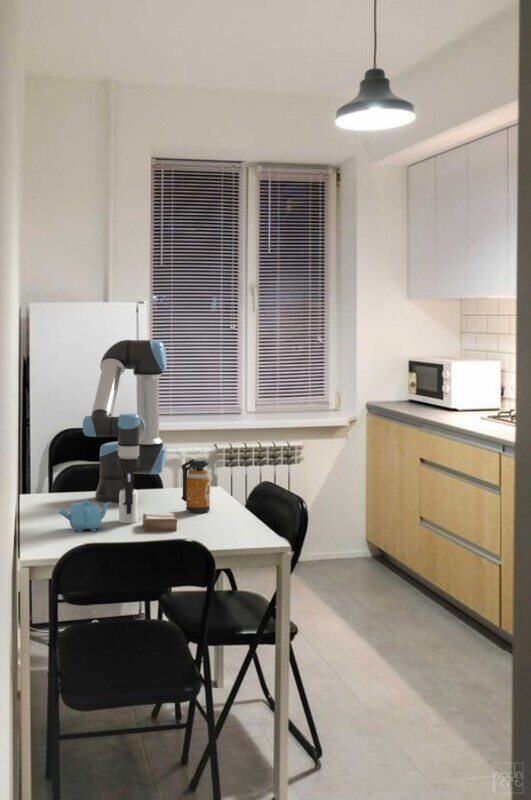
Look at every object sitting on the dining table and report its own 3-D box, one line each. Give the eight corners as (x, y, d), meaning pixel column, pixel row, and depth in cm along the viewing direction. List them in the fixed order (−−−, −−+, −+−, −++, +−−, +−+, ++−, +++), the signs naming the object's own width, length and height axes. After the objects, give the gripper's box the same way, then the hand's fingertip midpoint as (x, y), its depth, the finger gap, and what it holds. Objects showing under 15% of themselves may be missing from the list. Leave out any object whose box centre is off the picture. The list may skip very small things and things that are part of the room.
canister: (206, 514, 340) (206, 461, 339) (177, 512, 342) (178, 460, 341) (212, 509, 349) (212, 458, 347) (184, 508, 351) (185, 457, 350)
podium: (142, 524, 321) (143, 512, 320) (173, 524, 323) (174, 512, 322) (144, 531, 310) (144, 519, 310) (176, 531, 312) (176, 518, 312)
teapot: (61, 535, 303) (61, 505, 302) (56, 526, 316) (56, 497, 315) (115, 531, 309) (115, 502, 308) (107, 523, 322) (107, 495, 321)
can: (131, 519, 330) (132, 486, 329) (140, 522, 325) (140, 489, 324) (115, 521, 326) (116, 488, 325) (124, 524, 321) (124, 491, 320)
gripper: (117, 453, 333) (116, 514, 335) (118, 461, 313) (118, 526, 314) (137, 453, 334) (137, 513, 336) (140, 461, 314) (140, 526, 316)
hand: (128, 519), depth 325 cm, fingers open, 8 cm apart
